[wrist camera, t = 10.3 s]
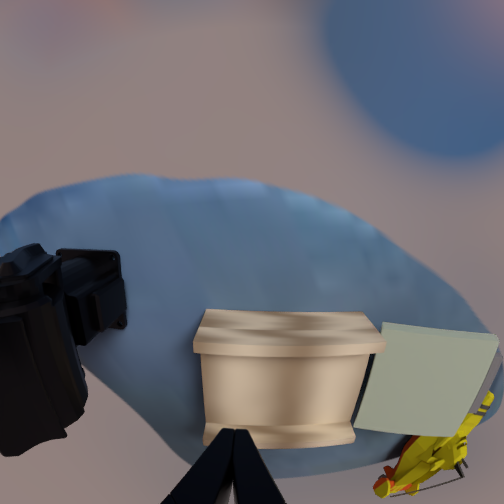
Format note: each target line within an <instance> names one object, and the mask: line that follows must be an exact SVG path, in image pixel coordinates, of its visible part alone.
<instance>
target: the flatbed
mask: <svg viewBox="0 0 504 504" xmlns="http://www.w3.org/2000/svg"><path fill="white" fill-rule="evenodd" d="M386 343H387V341H386V340H385V339H384V338H383V336H382V335H381V334H380V333H379V332H378V330H377V329H376V328H375V327H374V325H373V324H372V323H371V322H370V321H369V319H368V318H367V317H366V316H365V315H364V313H363V312H267V311H238V310H218V309H206V311H205V314H204V316H203V319H202V321H201V323H200V326H199V328H198V331H197V333H196V335H195V338H194V340H193V349H194V353H201V368H202V382H203V394H204V406H205V416H206V425H205V430H204V435H203V445H206V446H209V444H210V443H211V442H212V441H213V439H214V438H215V437H216V435H217V434H218V433H219V431H220V430H221V429H222V428H233V429H237V428H238V429H247V430H248V431H249V433H250V435H251V437H252V439H253V441H254V443H255V445H256V447H257V449H290V448H309V447H322V446H332V445H341V444H348V443H353V442H354V440H355V437H356V436H355V434H354V431H353V428H352V425H351V423H350V419H351V417H352V414H353V411H354V408H355V405H356V401H357V398H358V395H359V392H360V388H361V385H362V382H363V378H364V375H365V371H366V367H367V363H368V360H369V356H370V354H373V353H384V351H385V347H386Z"/></svg>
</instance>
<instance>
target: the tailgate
mask: <svg viewBox="0 0 504 504" xmlns="http://www.w3.org/2000/svg"><path fill="white" fill-rule="evenodd" d="M380 334H381V335H382V336H383V338H384V339H385V340H386V341H387V343H386V347H385V351H384V353H375V356H374V360H373V364H372V367H371V371H370V375H369V378H368V381H367V385H366V388H365V391H364V394H363V397H362V401H361V404H360V407H359V410H358V412H357V415H356V418H355V422H354V426H353V427H356V428H361V429H368V430H374V431H382V432H389V433H398V434H408V435H421V436H440V437H453V436H454V435H455V433H456V432H457V430H458V428H459V427H460V425H461V423H462V422H463V420H464V418H465V416H466V415H467V413H477V411H478V409H479V408H480V406H481V404H482V402H483V400H484V398H485V396H486V394H487V392H488V390H489V388H490V386H491V384H492V382H493V380H494V378H495V376H496V373H497V371H498V369H499V366H500V364H501V362H502V359H503V356H502V355H501V353H496V350H497V348H498V345H499V342H500V341H499V339H498V338H497V336H496V335H495V334H485V333H474V332H463V331H453V330H444V329H435V328H426V327H418V326H410V325H403V324H395V323H388V322H383V323H382V327H381V332H380Z"/></svg>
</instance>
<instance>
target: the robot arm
mask: <svg viewBox="0 0 504 504" xmlns="http://www.w3.org/2000/svg"><path fill="white" fill-rule="evenodd" d="M60 253H61V254H62V256H61V255H60ZM112 255H114V257H115V260H113V259H112ZM126 309H127V307H126V299H125V290H124V280H123V279H122V277H121V265H120V255H119V253H118V252H117V251H114V250H91V249H66V248H61V249H58V250H57V251H56V256H54V255H49V254H47V252H45V251H44V249H43V248H42V247H41V245H40V244H39V243H33V244H30V245H26V246H23V247H20V248H18V249H16V250H14V251H13V252H12V253H6V254H5V255H4V256H3V257H0V453H1V454H2V455H3V456H5V457H10V456H19V455H21V454H23V453H24V452H26V451H27V450H29V449H31V448H32V447H34V446H36V445H38V444H40V443H42V442H46V441H49V440H53V439H61V438H66V437H67V433H66V432H65V430H64V428H66V427H68V426H69V425H71V424H72V423H74V422H75V421H77V420H78V419H79V418H80V417H81V416H82V415H83V414H84V412H85V411H84V406H85V403H86V400H87V397H88V389H87V384H86V381H85V372H84V369H83V368H82V367H81V363H80V360H79V356H78V352H77V349H76V347H77V346H78V345H83V346H86V345H87V344H88V343H89V342H90V341H91V340H92V339H93V338H94V337H95V336H96V335H97V334H98V333H99V332H104V331H105V330H106V329H107V328H114V329H124V328H125V327H126V325H127V320H126V312H125V310H126ZM119 321H120V322H121V323H122V325H121V324H120V323H119ZM232 483H233V492H234V502H235V504H287V503H285V500H284V498H283V496H282V494H281V493H280V491H279V489H278V487H277V485H276V484H275V482H274V480H273V478H272V476H271V474H270V472H269V470H268V469H267V467H266V465H265V463H264V461H263V459H262V457H261V455H260V453H259V451H258V449H257V447H256V445H255V443H254V441H253V439H252V437H251V435H250V433H249V431H248V430H247V429H238V428H237V429H233V428H222V429H221V430H220V431H219V433H218V434H217V435H216V437H215V438H214V439H213V441H212V442H211V443H210V444H209V446H208V447H207V448H206V450H205V451H204V452H203V453H202V455H201V456H200V457H199V459H198V460H197V461H196V462H195V464H194V465H193V466H192V467H191V468H190V470H189V471H188V472H187V474H186V475H185V476H184V477H183V478H182V479H181V481H180V482H179V483H178V484H177V485H176V487H175V488H174V489H173V490H172V491H171V492H170V494H171V495H170V494H168V496H167V497H166V498H165V499H164V500H163V501H162V502H161V503H160V504H228V502H229V497H230V493H231V489H232Z"/></svg>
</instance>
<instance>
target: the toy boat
mask: <svg viewBox="0 0 504 504" xmlns="http://www.w3.org/2000/svg"><path fill="white" fill-rule="evenodd" d="M493 399H494V394H492V393H491V392H490V391H489V390H488V392H487V394H486V396H485V398H484V400H483V402H482V404H481V406H480V408H479V409H478V411H477V413H467V415H466V416H465V418H464V420H463V422H462V423H461V425H460V427H459V428H458V430H457V432H456V433H455V435H454V436H453V437H440V436H421V435H413V436H412V437H411V439H410V440H409V441H408V442H407V443H406V444H405V446H404V447H403V450H402V453H401V455H400V458H399V461H398V463H397V465H396V466H395V468H394V469H393V468H391V467H390V466H385V467H384V471H385V473H386V475H384V474H383V475H381V476H380V477H379V478H378V481H376V483H375V484H374V486H373V489H374V492H375V494H376V495H377V496H379V497H380V498H385V497H386V496H388V495H389V493H396V492H398V491H401V490H405V492H406V493H403V494H398V495H393V496H390V497H394V496H400V495H405V494H409V495H411V496H413V495H415V494H417V493H418V492H419V491H421V490H426V489H429V488H433V487H436V486H440V485H443V484H446V483H449V482H452V481H455V480H458V479H461V478H463V477H465V476H464V474H463V472H462V469H461V467H460V465H461V464H462V463H463V464H464V466H465V467H466V468H468V465H467V464H466V462H465V461H464V458H465V456H466V455H467V446H466V445H467V441H466V436H467V435H468V434H469V433H470V431H471V430H472V429H473V428H474V427H475V426H476V425H477V424H478V423H479V422H480V420H481V419H482V417H483V416H485V414H486V411H487V410H488V409H489V408H490V404H491V403H492V401H493ZM464 442H466V444H465V445H464ZM441 469H443V470H450V469H452V470H453V469H456V471H457V472H458V473H459V475H460V477H459V478H457V479H454V480H451V481H448V482H445V483H442V484H438V485H435V486H431V487H428V488H424V489H420V490H419V485H420V484H419V483H423V482H424V481H425V480H427V479H429V478H430V477H432V476H433V475H434V474H436V473H437V472H438V471H440V470H441Z"/></svg>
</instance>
